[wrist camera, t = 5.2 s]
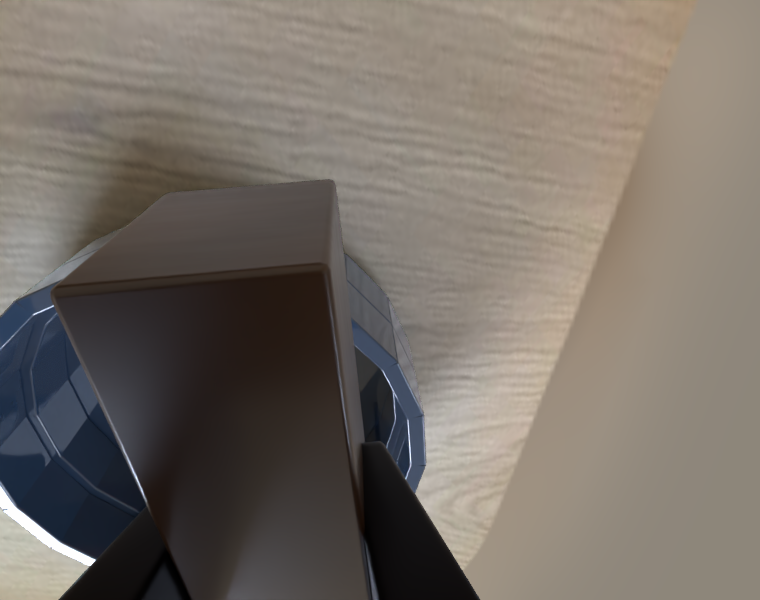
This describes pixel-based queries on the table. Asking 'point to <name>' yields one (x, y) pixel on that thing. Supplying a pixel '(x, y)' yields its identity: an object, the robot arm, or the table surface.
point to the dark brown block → (233, 386)
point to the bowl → (97, 442)
